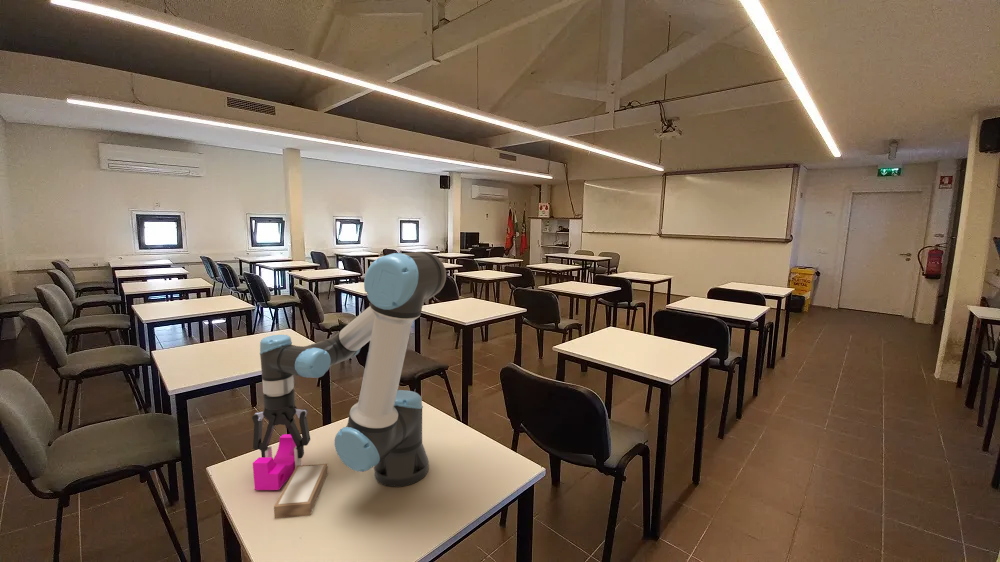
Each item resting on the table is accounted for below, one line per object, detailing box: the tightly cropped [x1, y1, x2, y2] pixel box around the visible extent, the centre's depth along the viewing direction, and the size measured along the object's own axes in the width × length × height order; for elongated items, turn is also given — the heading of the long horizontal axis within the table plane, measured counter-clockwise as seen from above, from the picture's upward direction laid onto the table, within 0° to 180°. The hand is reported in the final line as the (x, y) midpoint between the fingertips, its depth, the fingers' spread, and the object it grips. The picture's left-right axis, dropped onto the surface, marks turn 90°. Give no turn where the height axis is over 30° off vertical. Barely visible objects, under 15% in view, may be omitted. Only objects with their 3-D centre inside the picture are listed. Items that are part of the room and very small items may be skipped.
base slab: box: [273, 463, 329, 519], centre depth 106 cm, size 8×17×3 cm, turn 10°
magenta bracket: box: [252, 433, 296, 491], centre depth 114 cm, size 15×6×8 cm, turn 0°
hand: (284, 469), depth 115 cm, fingers closed on magenta bracket, 7 cm apart
